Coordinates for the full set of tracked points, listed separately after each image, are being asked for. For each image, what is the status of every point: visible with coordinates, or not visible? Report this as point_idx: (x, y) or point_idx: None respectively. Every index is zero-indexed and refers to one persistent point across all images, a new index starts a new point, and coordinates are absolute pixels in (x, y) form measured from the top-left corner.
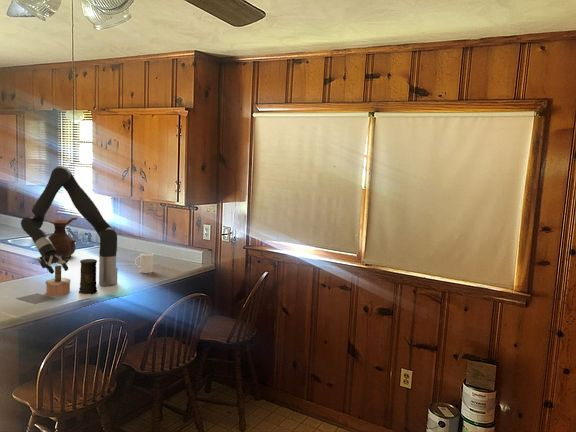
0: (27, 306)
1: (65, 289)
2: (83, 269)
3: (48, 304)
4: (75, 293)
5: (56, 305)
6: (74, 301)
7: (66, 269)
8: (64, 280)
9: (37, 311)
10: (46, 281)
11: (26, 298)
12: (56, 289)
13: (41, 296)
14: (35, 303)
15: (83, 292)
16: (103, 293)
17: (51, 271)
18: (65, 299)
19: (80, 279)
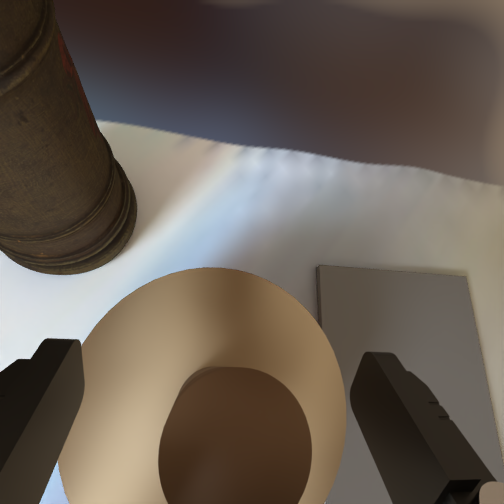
0: (496, 294)
1: None
2: (52, 15)
3: (401, 229)
4: (135, 274)
5: (382, 182)
6: (276, 154)
7: (78, 358)
8: (157, 356)
9: (490, 187)
10: (314, 495)
11: None
12: None
13: None
14: (459, 282)
15: (131, 194)
16: None
17: (410, 373)
18: (281, 223)
19: (73, 193)
